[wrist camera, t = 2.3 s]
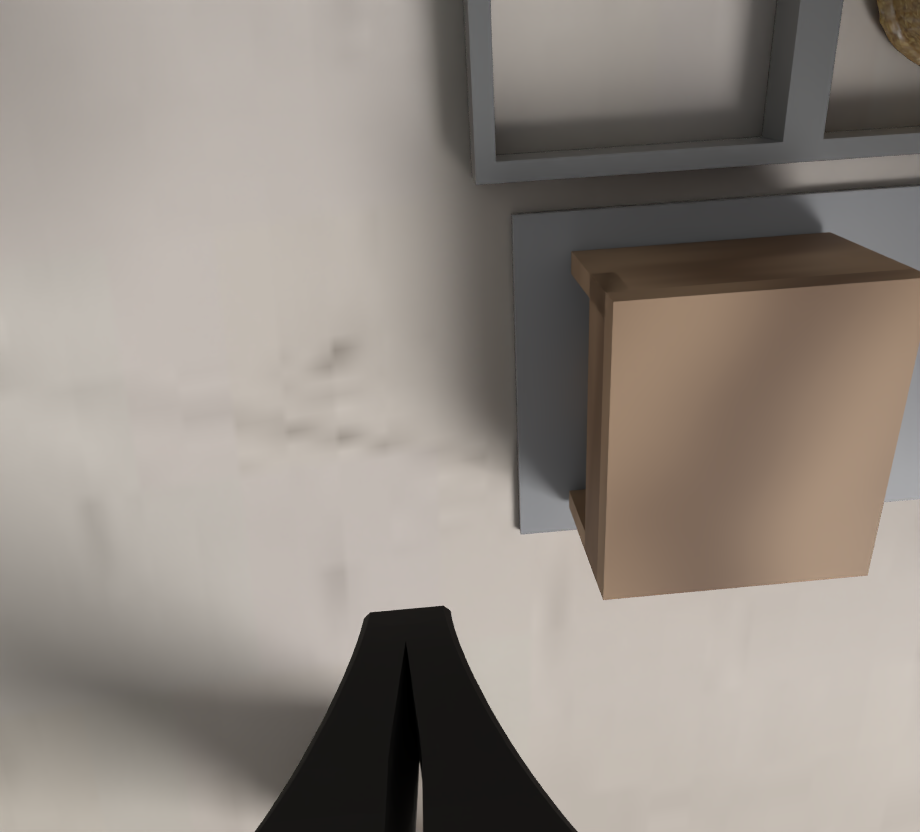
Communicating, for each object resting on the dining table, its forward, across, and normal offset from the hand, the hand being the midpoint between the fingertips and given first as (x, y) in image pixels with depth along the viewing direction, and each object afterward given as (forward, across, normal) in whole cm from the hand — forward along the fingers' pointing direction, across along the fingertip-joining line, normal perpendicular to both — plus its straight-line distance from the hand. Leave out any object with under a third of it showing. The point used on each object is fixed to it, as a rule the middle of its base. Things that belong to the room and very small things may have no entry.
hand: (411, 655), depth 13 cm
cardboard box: (+10, -8, 0) cm, 13 cm away
